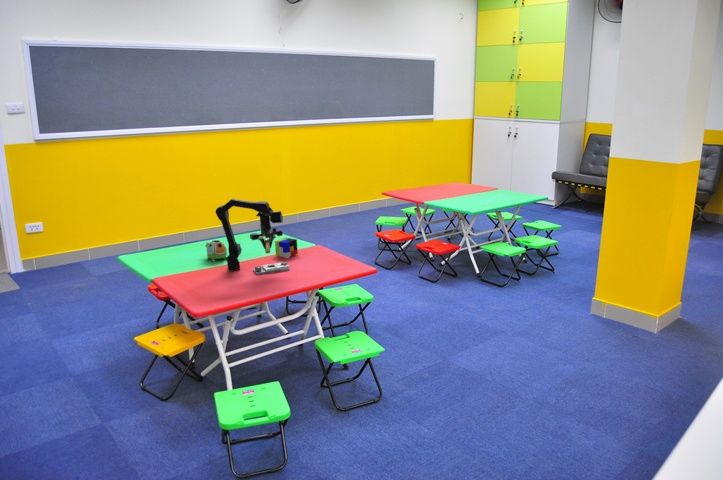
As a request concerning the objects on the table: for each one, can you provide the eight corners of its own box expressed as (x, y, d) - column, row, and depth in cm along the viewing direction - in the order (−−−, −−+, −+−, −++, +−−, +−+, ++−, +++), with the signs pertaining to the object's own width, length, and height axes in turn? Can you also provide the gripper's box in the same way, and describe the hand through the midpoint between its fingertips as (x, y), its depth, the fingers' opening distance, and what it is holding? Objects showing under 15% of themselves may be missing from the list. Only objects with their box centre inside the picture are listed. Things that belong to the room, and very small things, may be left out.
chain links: (256, 274, 335) (256, 269, 334) (253, 270, 343) (252, 265, 342) (289, 269, 343) (289, 264, 342) (285, 265, 351) (284, 261, 350)
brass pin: (266, 253, 340) (265, 240, 338) (264, 252, 343) (263, 239, 341) (271, 252, 342) (269, 239, 340) (269, 251, 344) (268, 238, 342)
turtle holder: (217, 253, 381) (215, 236, 378) (231, 258, 369) (229, 241, 365) (200, 257, 373) (198, 240, 370) (214, 263, 360) (212, 245, 357)
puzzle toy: (286, 258, 367) (286, 243, 364) (275, 255, 373) (274, 240, 370) (297, 254, 375) (296, 239, 372) (286, 252, 381) (285, 237, 378)
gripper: (253, 228, 327) (256, 254, 331) (284, 223, 334) (286, 249, 338) (248, 224, 337) (250, 249, 341) (278, 220, 344) (280, 245, 348)
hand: (267, 248), depth 342 cm, fingers closed on brass pin, 3 cm apart
